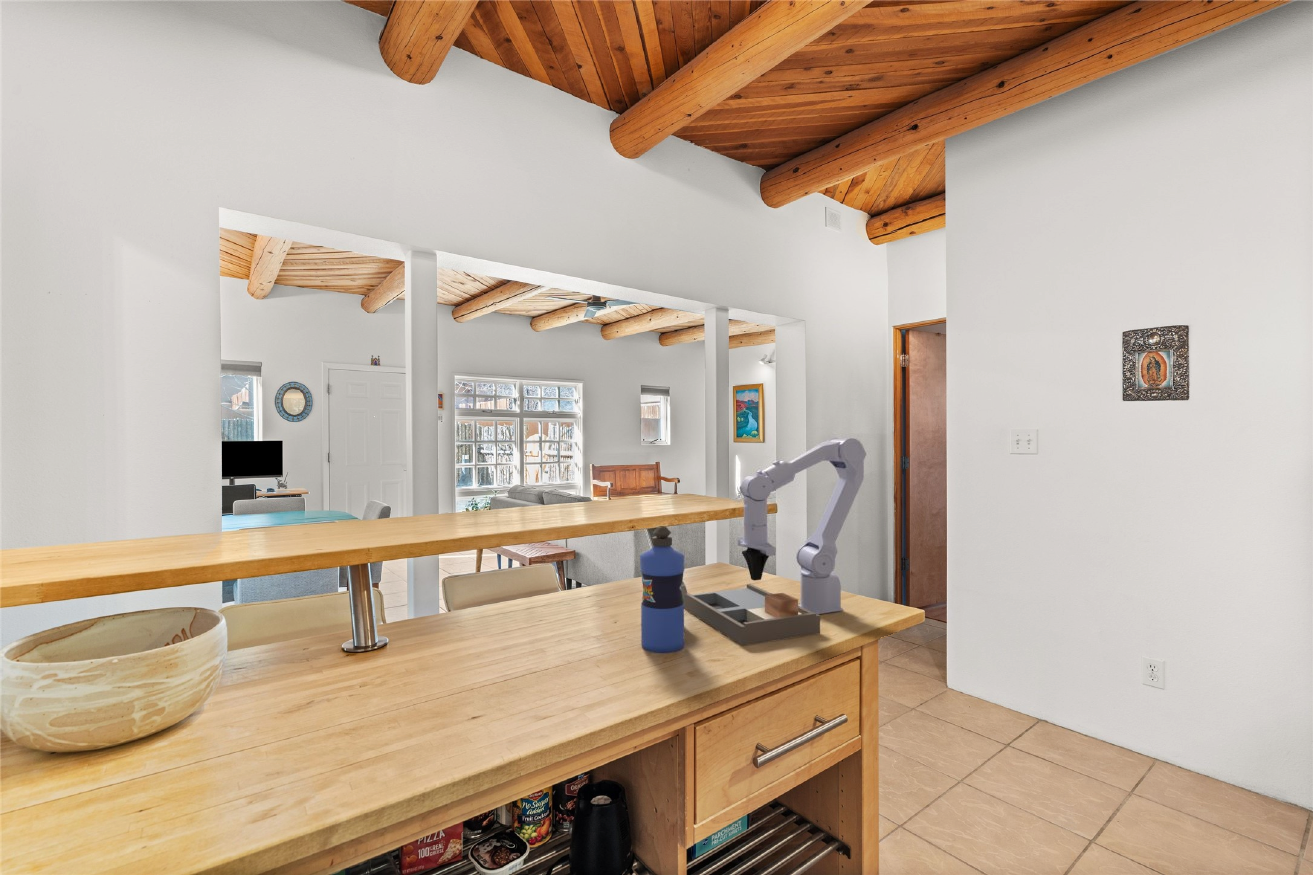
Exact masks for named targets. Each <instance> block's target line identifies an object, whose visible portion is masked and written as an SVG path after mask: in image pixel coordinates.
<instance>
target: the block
mask: <svg viewBox="0 0 1313 875" xmlns="http://www.w3.org/2000/svg"><path fill="white" fill-rule="evenodd" d="M798 604H799V598H797V597H794V596H791V595H789V594H787V593H785V592H778V593H771V594H769V595H765V613H767V614H769V615H771V616H773V617H775V618H778V617H785V616H792V615H798Z"/></svg>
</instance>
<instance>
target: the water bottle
mask: <svg viewBox="0 0 1313 875" xmlns="http://www.w3.org/2000/svg"><path fill="white" fill-rule="evenodd" d="M652 533H653V535H654V536H653V537H651V541H652V542H651V545H652V547H651V549H649V550H647V551H645V552H644V553H641V554H640V555H639V562H640V563H639V568H640V569H639V570H640V571H639V572H640V573H641V574H640V575H641V581H642V582H641V583H642V597H641V605H640V610H641V611H640V613H641V615H640V618H641V619H640V627H641V628H640V630H641V631H640V632H641V638H640V639H641V640H640V642H641V648H642V649H644V650H645V651H647V652H650V653H655V654H667V653H675V652H678V651H681V650H683V649H684V647H685V609H684V603H683V596H682V582H684V581H683V579H684V572H685V554H684V553H681V552H680V551H677V550H675V549H674V548H673V547H672V546H673V537H672V536H670V535H671V534H672V531H670V529H669V528H668V527H667V526H657V527H656V528H655V529H654V531H653V532H652Z"/></svg>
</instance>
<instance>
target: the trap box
mask: <svg viewBox="0 0 1313 875" xmlns="http://www.w3.org/2000/svg"><path fill="white" fill-rule="evenodd" d="M769 594H772V592H769V591H767V590H764V589H763V588H760V587H758V586H756V585H753V584H751V583H746V587H744V588H736V589H735V588H734V589H726V590H720V591H719V590H718V591H717V590H716V591H711V592H710V591H708V592H702V593H695V594H694V593H693V594H691V593H689V592H688V591H687V594H686V595H685V596H684V610H686V611H687V612H688V613H691V614H692V615H694V616H695V617H696V618H698V619H700V620H701V621H702V622H704V623H705V624H707V625H708V626H710V627H712V628H714V629H715V630H717V631H718V632H719V633H721V634H723V635H724V636H726V637H727V638H729V639H730V640H732V641H733V642H735V643H736V644H738V645H740V646H741V647H745V646H750V645H755V644H763V643H768V642H774V641H780V640H787V639H792V638H793V639H794V638H801V637H806V636H812V635H818V634H819V635H820V634H821V614H816V613H814V612H811V611H809V610H807V609H805V608H803V607H800V606H798V615H792V616H785V617H778V618H775V617H773V616H771V615H769V614H767V613H765V595H769Z"/></svg>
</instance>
